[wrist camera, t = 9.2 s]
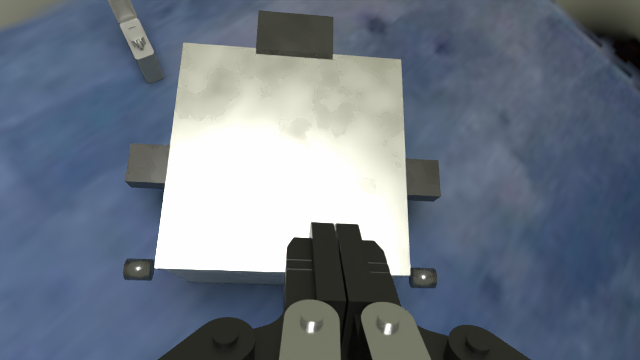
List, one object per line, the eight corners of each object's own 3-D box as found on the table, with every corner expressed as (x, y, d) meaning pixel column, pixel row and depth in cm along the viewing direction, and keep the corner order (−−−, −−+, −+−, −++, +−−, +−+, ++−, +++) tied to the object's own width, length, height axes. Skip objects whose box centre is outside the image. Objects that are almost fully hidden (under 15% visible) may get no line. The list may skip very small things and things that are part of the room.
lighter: (165, 78, 45) (144, 27, 37) (148, 84, 44) (123, 34, 37) (138, 21, 46) (112, -38, 39) (121, 27, 46) (92, -32, 38)
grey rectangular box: (414, 296, 41) (457, 288, 32) (139, 289, 38) (99, 278, 29) (406, 126, 46) (441, 77, 37) (164, 111, 44) (136, 54, 34)
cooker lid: (405, 277, 32) (410, 275, 31) (158, 270, 30) (154, 267, 29) (395, 31, 38) (399, 22, 37) (190, 14, 37) (188, 4, 36)
